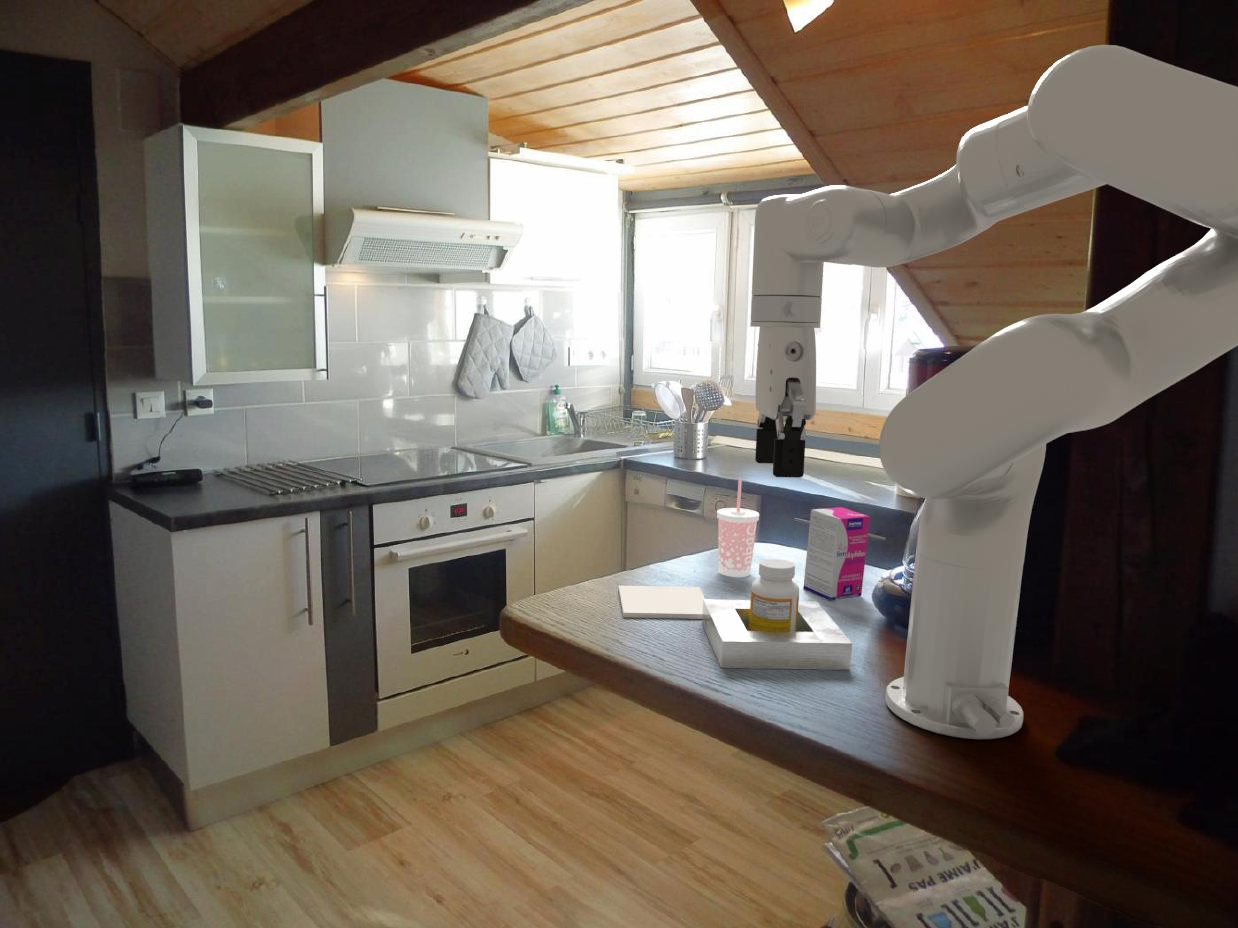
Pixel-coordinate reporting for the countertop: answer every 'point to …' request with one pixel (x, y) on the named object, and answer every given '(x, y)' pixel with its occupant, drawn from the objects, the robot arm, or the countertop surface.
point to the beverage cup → (736, 538)
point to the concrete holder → (775, 639)
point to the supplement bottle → (774, 597)
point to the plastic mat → (661, 602)
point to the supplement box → (836, 553)
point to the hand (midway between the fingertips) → (778, 469)
